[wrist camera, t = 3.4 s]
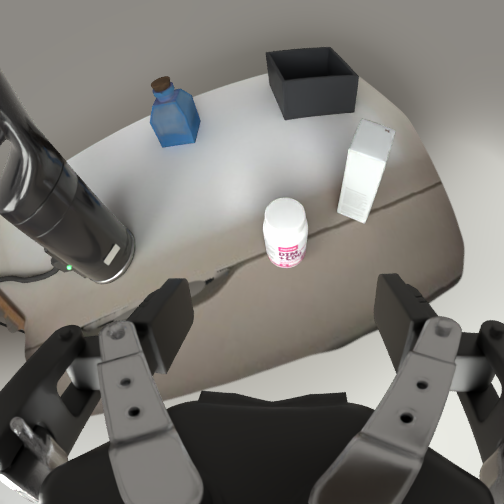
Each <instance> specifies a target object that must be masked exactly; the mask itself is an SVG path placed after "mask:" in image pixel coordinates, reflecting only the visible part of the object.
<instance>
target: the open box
mask: <svg viewBox="0 0 504 504" xmlns="http://www.w3.org/2000/svg"><path fill="white" fill-rule="evenodd" d="M266 60H267V67H268V76H269V84H270V87H271V89H272V91H273V94H274V96H275V98H276V100H277V103H278V105H279V107H280V110H281V112H282V114H283V117H284V119H285V120H289V119H296V118H303V117H311V116H320V115H329V114H339V113H351V112H354V110H355V103H356V95H357V88H358V79H359V76H358V75H357V74H356V73H355V72H354V71H353V70H352V69H351V68H350V66H349V65H348V64H347V63H346V62H345V61H344V60H343V59H342V58H341V57H340V56H339V55H338V54H337V53H336V52H335V51H334V50H333V49H332V48H331V47H320V48H303V49H291V50H282V51H273V52H266Z"/></svg>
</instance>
